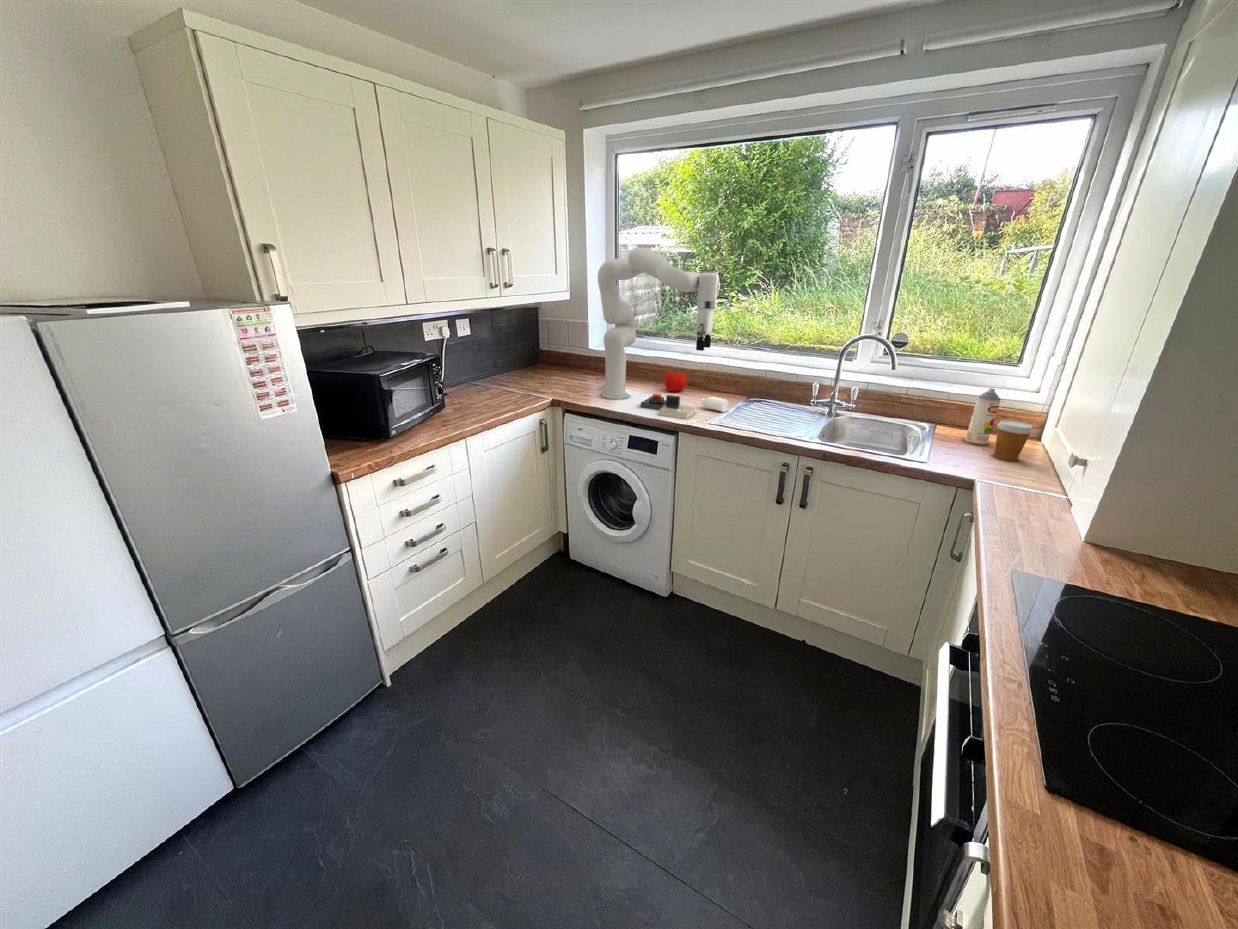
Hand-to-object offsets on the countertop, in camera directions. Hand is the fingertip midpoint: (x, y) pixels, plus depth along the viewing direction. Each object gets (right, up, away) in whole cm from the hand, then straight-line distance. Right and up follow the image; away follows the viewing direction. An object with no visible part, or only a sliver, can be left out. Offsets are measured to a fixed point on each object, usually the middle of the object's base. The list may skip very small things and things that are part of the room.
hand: (703, 348), depth 206 cm
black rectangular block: (-12, -24, +3) cm, 27 cm away
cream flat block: (-11, -27, +3) cm, 29 cm away
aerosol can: (+96, -40, -23) cm, 107 cm away
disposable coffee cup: (+95, -46, -38) cm, 112 cm away
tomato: (-7, -11, +43) cm, 45 cm away
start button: (-18, -19, +12) cm, 29 cm away
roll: (+6, -24, +12) cm, 27 cm away
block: (-18, -22, +14) cm, 32 cm away
